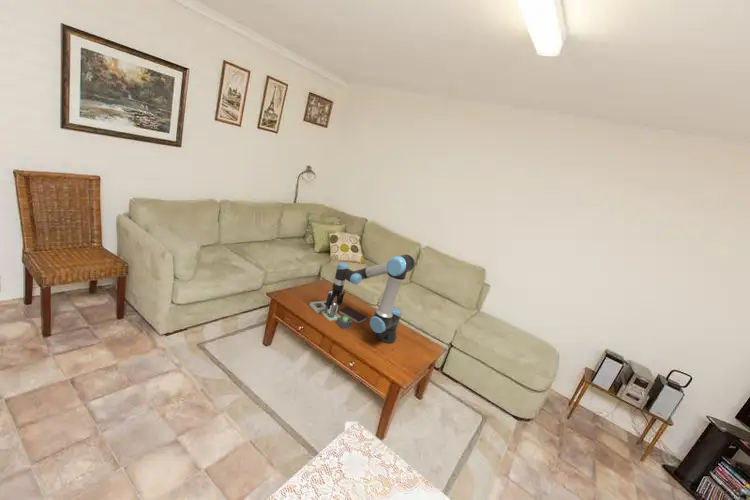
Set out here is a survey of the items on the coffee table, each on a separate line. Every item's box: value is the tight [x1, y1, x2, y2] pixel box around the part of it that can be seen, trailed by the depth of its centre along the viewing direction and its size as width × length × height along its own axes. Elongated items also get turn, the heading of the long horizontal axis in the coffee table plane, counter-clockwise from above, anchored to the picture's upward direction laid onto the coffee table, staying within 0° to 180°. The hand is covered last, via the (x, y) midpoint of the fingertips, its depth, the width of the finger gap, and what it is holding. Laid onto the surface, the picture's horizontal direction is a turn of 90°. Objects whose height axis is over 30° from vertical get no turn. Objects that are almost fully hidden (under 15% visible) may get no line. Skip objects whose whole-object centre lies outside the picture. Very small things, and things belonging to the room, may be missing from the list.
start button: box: [342, 315, 348, 322], centre depth 249 cm, size 4×4×5 cm
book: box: [338, 306, 369, 324], centre depth 267 cm, size 12×19×3 cm, turn 59°
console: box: [335, 316, 353, 330], centre depth 250 cm, size 8×8×5 cm
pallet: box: [309, 300, 339, 314], centre depth 267 cm, size 12×18×3 cm, turn 128°
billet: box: [328, 299, 338, 318], centre depth 256 cm, size 5×5×12 cm
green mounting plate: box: [321, 310, 341, 322], centre depth 258 cm, size 11×10×2 cm
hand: (331, 312), depth 257 cm, fingers closed on billet, 5 cm apart
